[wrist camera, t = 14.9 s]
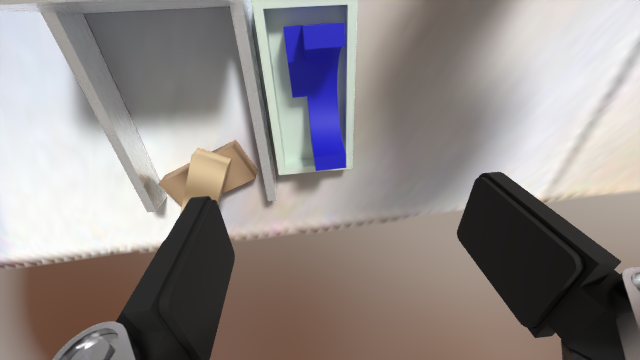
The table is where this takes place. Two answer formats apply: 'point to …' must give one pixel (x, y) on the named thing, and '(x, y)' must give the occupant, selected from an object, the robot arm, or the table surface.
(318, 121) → the cable clip
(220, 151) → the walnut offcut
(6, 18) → the table surface
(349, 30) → the sage tray
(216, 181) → the oak offcut
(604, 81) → the table surface
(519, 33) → the table surface
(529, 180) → the table surface
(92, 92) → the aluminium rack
